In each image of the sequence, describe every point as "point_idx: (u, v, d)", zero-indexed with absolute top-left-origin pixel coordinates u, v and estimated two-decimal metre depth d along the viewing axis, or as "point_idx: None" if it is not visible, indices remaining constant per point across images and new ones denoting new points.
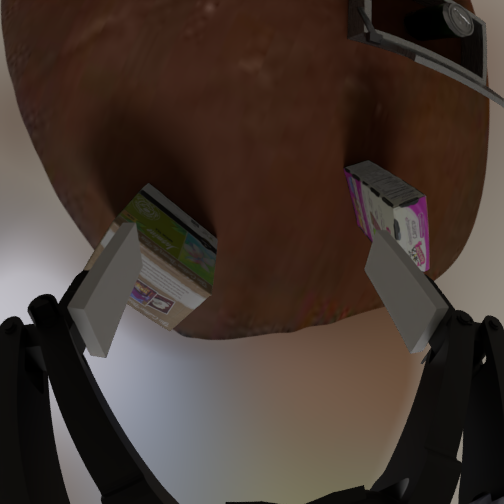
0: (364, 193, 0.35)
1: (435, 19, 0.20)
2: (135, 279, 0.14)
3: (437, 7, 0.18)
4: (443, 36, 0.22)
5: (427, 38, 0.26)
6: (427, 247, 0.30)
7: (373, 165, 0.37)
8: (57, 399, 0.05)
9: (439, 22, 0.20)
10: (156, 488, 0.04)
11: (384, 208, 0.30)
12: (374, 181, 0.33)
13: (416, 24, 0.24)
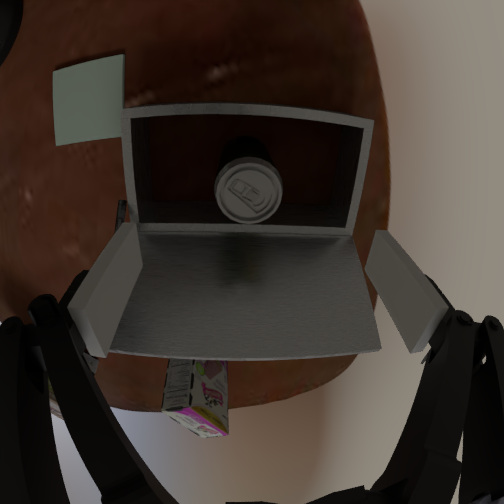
0: None
1: None
2: (135, 279, 0.14)
3: (218, 171, 0.22)
4: None
5: None
6: (214, 427, 0.34)
7: None
8: (57, 399, 0.05)
9: None
10: (156, 488, 0.04)
11: None
12: (174, 365, 0.37)
13: None
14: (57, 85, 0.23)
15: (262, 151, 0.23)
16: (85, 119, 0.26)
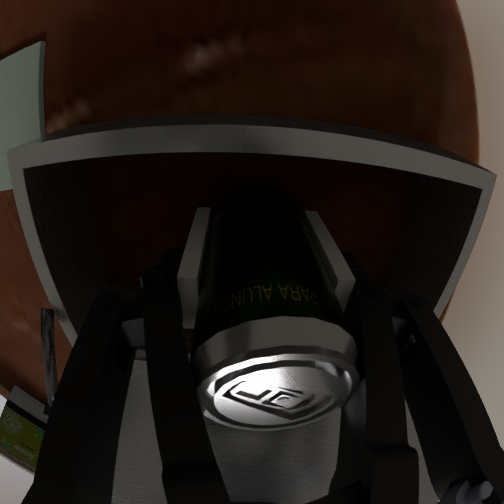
0: None
1: None
2: None
3: (198, 319, 0.09)
4: None
5: None
6: None
7: None
8: (148, 368, 0.07)
9: None
10: None
11: None
12: None
13: None
14: None
15: (304, 250, 0.10)
16: None
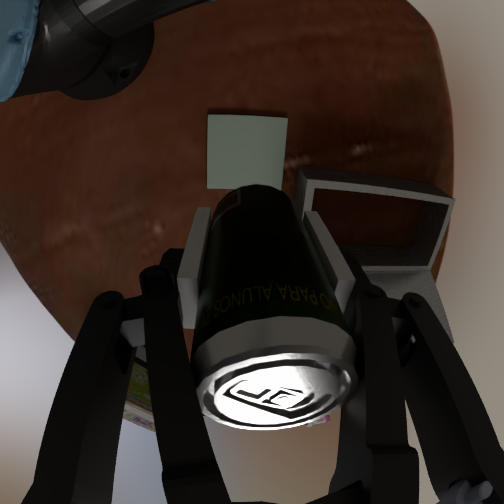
0: None
1: None
2: None
3: (198, 319, 0.09)
4: None
5: None
6: None
7: None
8: (148, 368, 0.07)
9: None
10: None
11: None
12: None
13: None
14: (213, 130, 0.33)
15: (304, 250, 0.10)
16: (244, 169, 0.36)
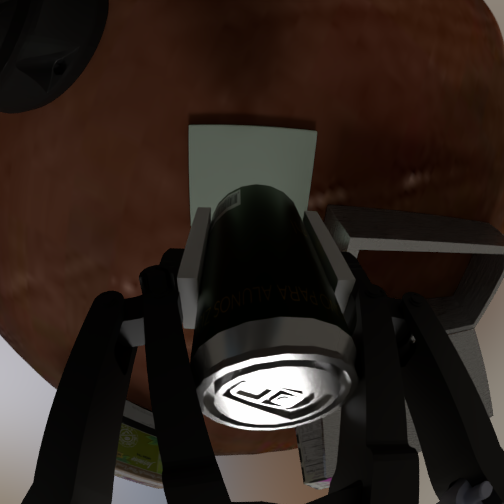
0: None
1: None
2: None
3: (198, 320, 0.09)
4: None
5: None
6: None
7: None
8: (148, 368, 0.07)
9: None
10: None
11: None
12: (305, 439, 0.35)
13: None
14: (198, 151, 0.21)
15: (304, 251, 0.10)
16: None
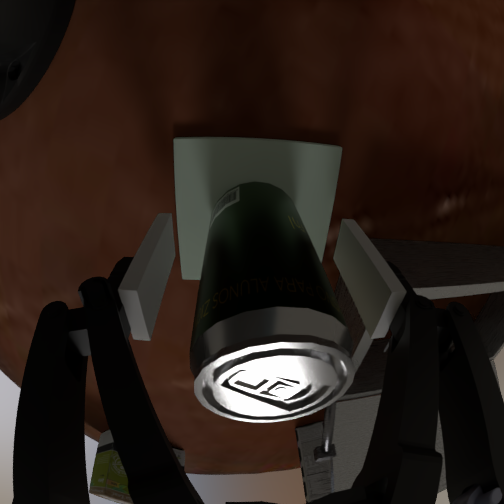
0: None
1: None
2: (170, 267, 0.15)
3: (197, 312, 0.09)
4: None
5: None
6: None
7: None
8: (98, 381, 0.06)
9: None
10: (186, 480, 0.05)
11: None
12: (311, 473, 0.30)
13: None
14: (187, 172, 0.16)
15: (301, 245, 0.11)
16: None
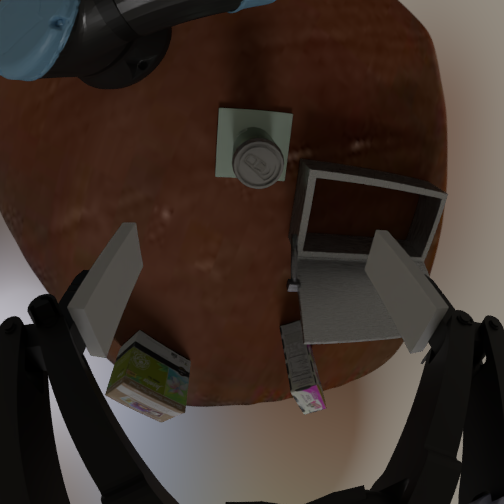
0: None
1: None
2: (135, 279, 0.14)
3: (235, 149, 0.28)
4: None
5: None
6: (321, 401, 0.46)
7: (300, 331, 0.53)
8: (57, 399, 0.05)
9: None
10: (156, 488, 0.04)
11: None
12: (292, 356, 0.49)
13: None
14: (224, 122, 0.35)
15: (268, 136, 0.30)
16: None
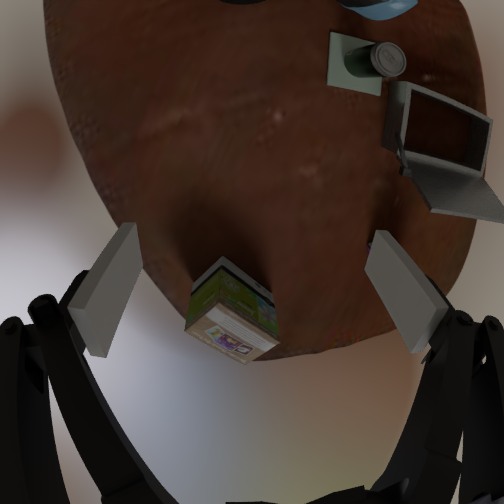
0: None
1: (365, 62, 0.29)
2: (135, 279, 0.14)
3: (368, 48, 0.28)
4: (376, 76, 0.31)
5: (364, 77, 0.35)
6: None
7: None
8: (57, 399, 0.05)
9: (368, 65, 0.29)
10: (156, 488, 0.04)
11: None
12: None
13: (352, 65, 0.34)
14: (335, 43, 0.35)
15: None
16: None
